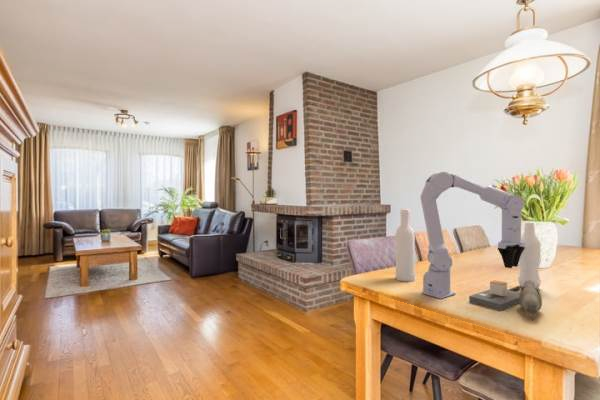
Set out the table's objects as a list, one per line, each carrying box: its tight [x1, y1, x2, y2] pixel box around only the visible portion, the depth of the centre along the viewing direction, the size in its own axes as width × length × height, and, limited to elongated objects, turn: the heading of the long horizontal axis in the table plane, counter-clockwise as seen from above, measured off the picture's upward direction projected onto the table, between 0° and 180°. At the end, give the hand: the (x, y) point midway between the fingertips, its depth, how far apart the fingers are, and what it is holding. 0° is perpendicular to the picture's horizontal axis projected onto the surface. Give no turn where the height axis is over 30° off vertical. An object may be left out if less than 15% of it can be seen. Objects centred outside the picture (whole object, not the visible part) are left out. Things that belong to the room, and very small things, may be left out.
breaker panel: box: [468, 288, 520, 312], centre depth 109 cm, size 18×10×2 cm, turn 123°
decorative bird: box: [519, 280, 543, 321], centre depth 99 cm, size 6×17×8 cm, turn 146°
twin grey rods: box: [508, 285, 521, 292], centre depth 117 cm, size 12×6×1 cm, turn 123°
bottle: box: [395, 208, 416, 283], centre depth 137 cm, size 8×8×30 cm
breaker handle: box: [489, 279, 508, 296], centre depth 109 cm, size 3×4×4 cm
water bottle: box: [517, 222, 542, 290], centre depth 124 cm, size 7×7×25 cm
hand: (511, 266), depth 114 cm, fingers open, 3 cm apart
